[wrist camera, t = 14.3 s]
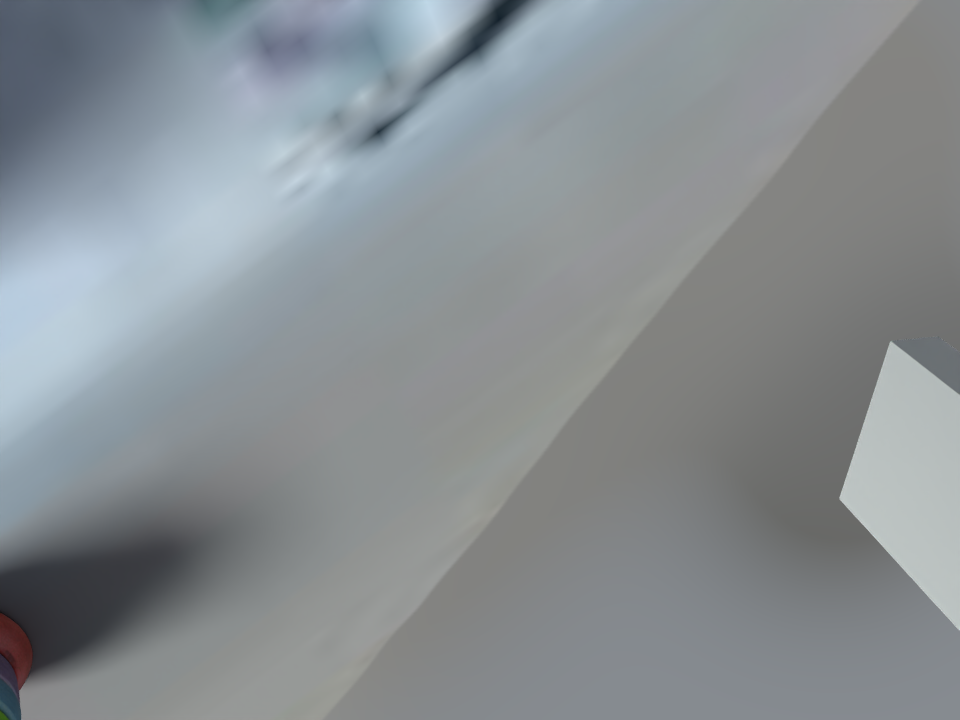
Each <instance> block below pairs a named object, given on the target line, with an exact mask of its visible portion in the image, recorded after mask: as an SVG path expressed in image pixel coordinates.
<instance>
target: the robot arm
mask: <svg viewBox="0 0 960 720" xmlns="http://www.w3.org/2000/svg"><path fill="white" fill-rule="evenodd" d="M839 499H840V500H841V501H842V502H843V503H844V504H845V506H846V507H848V509H849V510H850V511H851V512H852V513H853V514H854V515H855V516H856V518H857V519H859V521H860V522H861V523H862V524H863V525H864V526H865V527H866V528H867V530H868V531H869V532H870V533H871V534H872V535H873V536H874V537H875V538H876V539H877V541H878V542H879V543H880V544H881V545H882V546H883V547H884V548H885V549H886V551H887V552H888V553H889V554H890V555H891V556H892V557H893V558H894V559H895V560H896V562H897V563H898V564H899V565H900V566H901V567H902V568H903V569H904V570H905V571H906V572H907V574H908V575H909V576H910V577H911V578H912V579H913V580H914V581H915V582H916V583H917V584H918V586H919V587H920V588H921V589H922V590H923V591H924V592H925V593H926V594H927V595H928V597H929V598H930V599H931V600H932V601H933V602H934V603H935V604H936V605H937V607H938V608H939V609H940V610H941V611H942V612H943V613H944V614H945V615H946V616H947V617H948V618H949V620H950V621H951V622H952V623H953V624H954V625H955V626H956V627H957V628H958V629H959V631H960V352H959V351H957V350H956V349H955V348H953V347H952V346H950V345H949V344H948V343H946V342H945V341H944V340H942V339H941V338H940V337H928V338H917V339H906V340H895V341H891V342H890V344H889V348H888V351H887V354H886V357H885V360H884V363H883V366H882V369H881V372H880V375H879V379H878V382H877V384H876V388H875V391H874V394H873V397H872V400H871V403H870V406H869V409H868V412H867V415H866V418H865V421H864V425H863V428H862V431H861V434H860V437H859V440H858V443H857V446H856V450H855V452H854V455H853V458H852V462H851V465H850V468H849V471H848V474H847V477H846V480H845V483H844V486H843V489H842V492H841V495H840V498H839Z"/></svg>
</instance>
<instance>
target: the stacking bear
mask: <svg viewBox="0 0 960 720" xmlns="http://www.w3.org/2000/svg"><path fill="white" fill-rule="evenodd" d="M32 658H33V653H32V647H31V644H30V641H29V639H28V637H27V635H26V634H25V633H24V631H23V630H22V629H21V628H20V627H19V626H18V625H17V624H16V623H15V622H14V621H12V620H11V619H10V618H8V617H7V616H5V615H3V614H2V613H0V720H21V709H20V698H19V690H20V689H21V687H22V686H23V684H24V683H25V681H26V679H27V677H28V674H29V672H30V668H31V665H32Z"/></svg>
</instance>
